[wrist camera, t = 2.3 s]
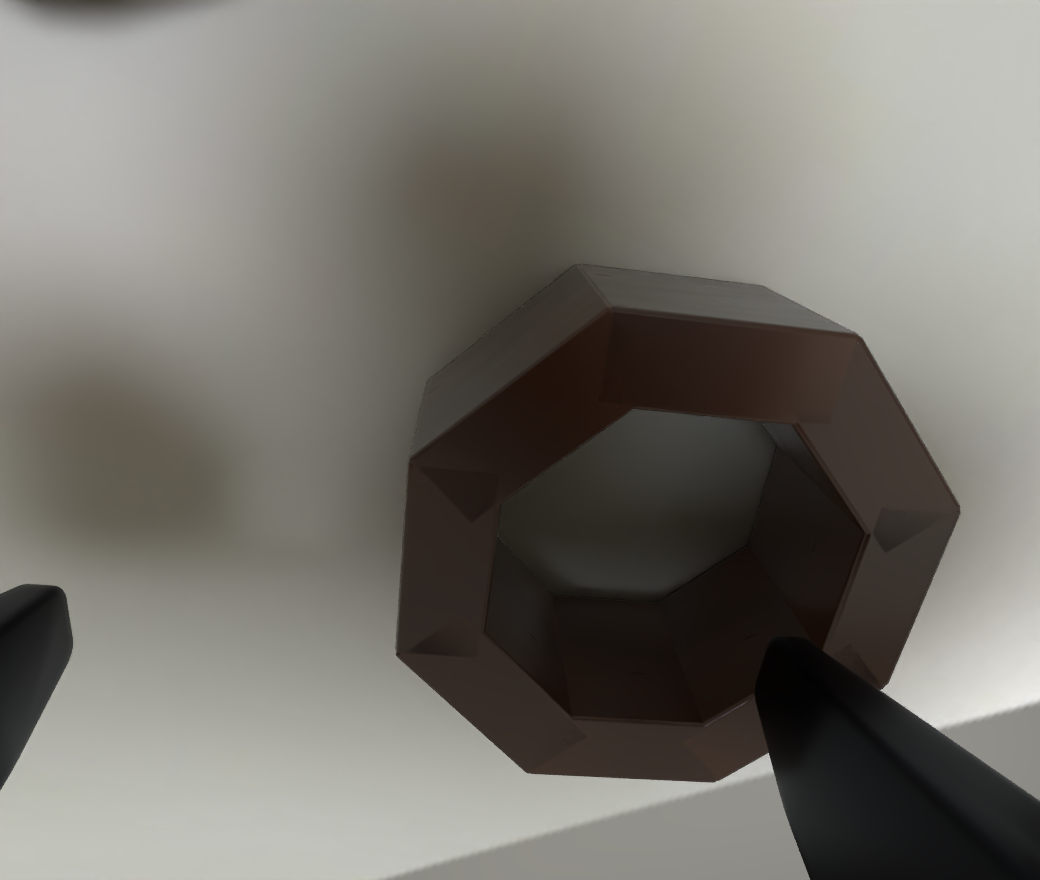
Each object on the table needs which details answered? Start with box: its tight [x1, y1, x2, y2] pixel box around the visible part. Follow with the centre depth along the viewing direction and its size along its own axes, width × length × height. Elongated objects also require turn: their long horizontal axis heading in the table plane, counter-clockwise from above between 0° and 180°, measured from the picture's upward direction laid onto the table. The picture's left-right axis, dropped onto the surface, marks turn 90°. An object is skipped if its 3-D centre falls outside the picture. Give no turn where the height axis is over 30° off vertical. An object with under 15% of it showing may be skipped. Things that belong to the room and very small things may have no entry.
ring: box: [395, 264, 960, 782], centre depth 12 cm, size 8×8×4 cm
